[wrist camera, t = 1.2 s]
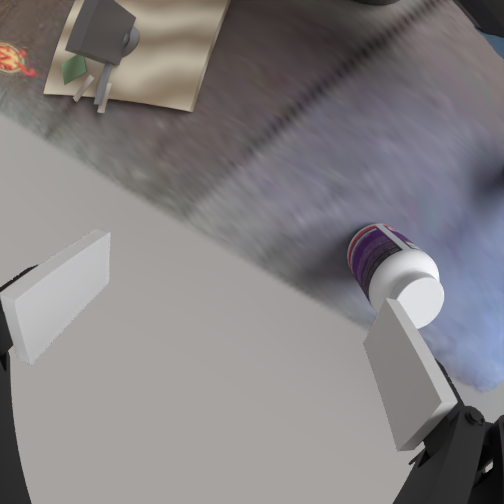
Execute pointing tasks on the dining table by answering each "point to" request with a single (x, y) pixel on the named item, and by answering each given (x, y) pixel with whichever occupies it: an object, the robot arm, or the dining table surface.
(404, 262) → the pill bottle
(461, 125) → the dining table surface
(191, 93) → the board
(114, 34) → the grey rectangular block
